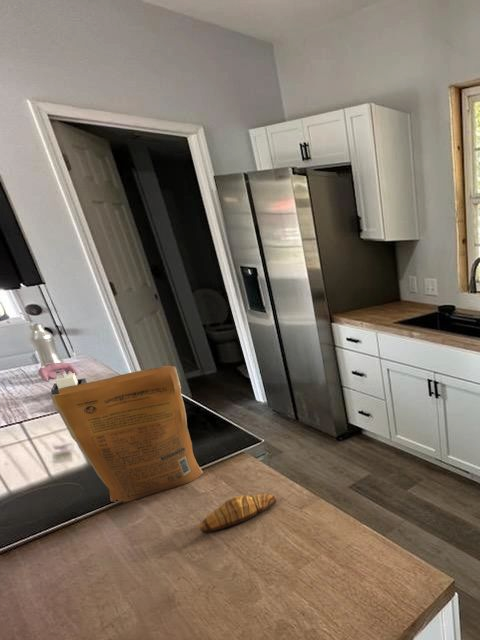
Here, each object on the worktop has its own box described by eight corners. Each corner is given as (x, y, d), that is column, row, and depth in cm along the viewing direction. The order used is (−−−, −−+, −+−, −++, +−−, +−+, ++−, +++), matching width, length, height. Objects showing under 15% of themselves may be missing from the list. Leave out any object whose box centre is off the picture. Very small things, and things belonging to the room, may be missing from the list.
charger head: (60, 393, 145) (53, 377, 142) (62, 388, 149) (55, 372, 147) (78, 390, 148) (71, 374, 145) (79, 385, 152) (73, 369, 149)
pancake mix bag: (212, 479, 97) (175, 367, 86) (102, 514, 85) (45, 390, 75) (208, 467, 101) (173, 359, 91) (103, 499, 90) (50, 380, 80)
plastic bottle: (44, 372, 169) (23, 324, 162) (68, 368, 173) (48, 322, 166) (43, 376, 165) (21, 327, 157) (67, 372, 169) (47, 324, 162)
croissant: (205, 543, 77) (197, 522, 75) (198, 526, 81) (190, 505, 80) (282, 510, 86) (277, 490, 84) (272, 496, 90) (267, 477, 88)
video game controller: (78, 376, 168) (69, 361, 167) (79, 373, 165) (70, 357, 165) (43, 384, 160) (34, 368, 159) (44, 381, 157) (35, 364, 157)
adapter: (54, 398, 143) (50, 390, 142) (57, 391, 150) (54, 383, 148) (86, 392, 148) (83, 385, 147) (88, 385, 154) (85, 378, 153)
